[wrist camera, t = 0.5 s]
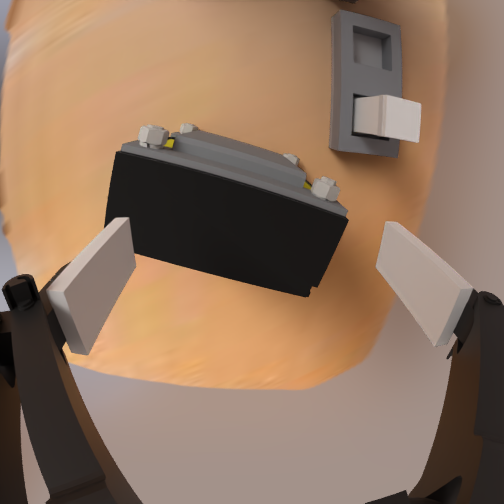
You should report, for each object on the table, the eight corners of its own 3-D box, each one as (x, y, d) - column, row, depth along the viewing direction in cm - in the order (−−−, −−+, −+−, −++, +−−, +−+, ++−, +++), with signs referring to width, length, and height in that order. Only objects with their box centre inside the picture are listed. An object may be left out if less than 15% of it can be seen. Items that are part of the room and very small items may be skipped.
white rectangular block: (348, 99, 33) (386, 94, 23) (378, 104, 33) (421, 103, 24) (347, 130, 35) (384, 136, 25) (376, 135, 35) (419, 143, 26)
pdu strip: (331, 18, 29) (340, 9, 25) (387, 31, 29) (400, 25, 25) (328, 147, 37) (338, 150, 34) (385, 154, 38) (398, 158, 34)
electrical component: (303, 157, 38) (360, 193, 20) (278, 223, 42) (308, 306, 24) (179, 120, 35) (123, 121, 17) (160, 190, 39) (101, 251, 21)
